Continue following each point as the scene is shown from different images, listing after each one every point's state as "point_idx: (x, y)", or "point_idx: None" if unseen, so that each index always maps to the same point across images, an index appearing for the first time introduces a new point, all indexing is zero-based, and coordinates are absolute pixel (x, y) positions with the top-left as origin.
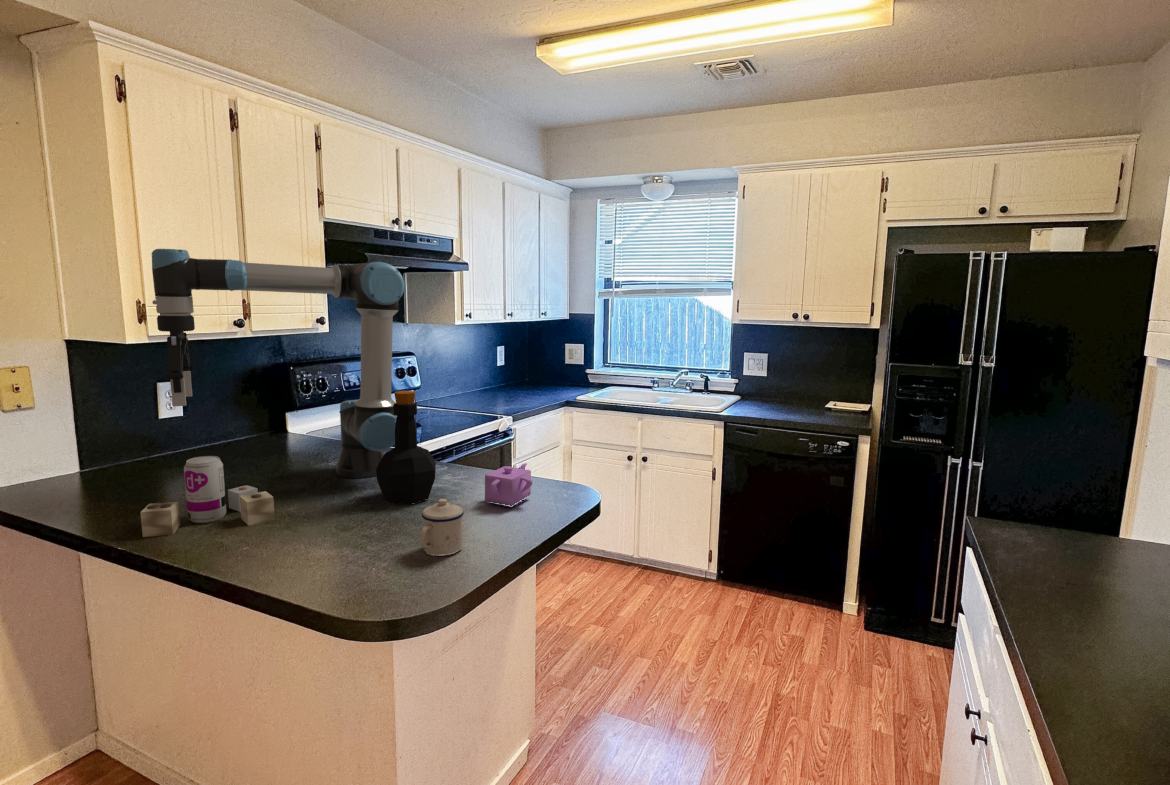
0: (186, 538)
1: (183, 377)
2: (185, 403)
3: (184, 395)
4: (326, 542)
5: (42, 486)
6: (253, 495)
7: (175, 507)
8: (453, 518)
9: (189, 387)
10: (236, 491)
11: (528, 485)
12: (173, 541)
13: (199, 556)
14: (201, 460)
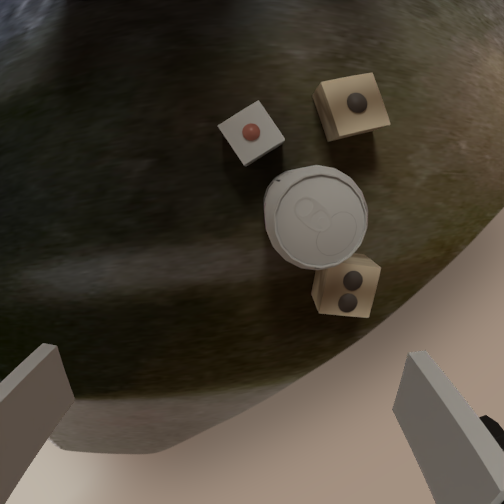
0: (394, 231)
1: (2, 457)
2: (431, 359)
3: (457, 392)
4: (469, 46)
5: (63, 429)
6: (353, 108)
7: (350, 262)
8: None
9: (28, 387)
10: (266, 145)
11: None
12: (398, 249)
13: (467, 207)
14: (321, 226)
